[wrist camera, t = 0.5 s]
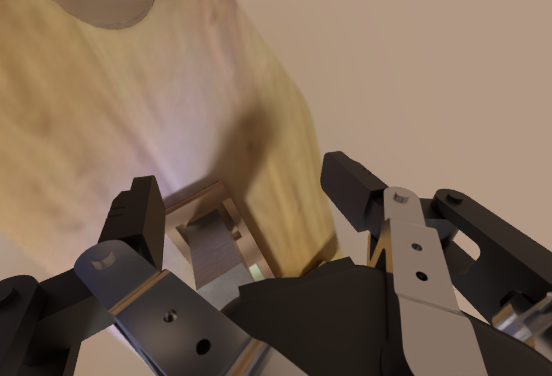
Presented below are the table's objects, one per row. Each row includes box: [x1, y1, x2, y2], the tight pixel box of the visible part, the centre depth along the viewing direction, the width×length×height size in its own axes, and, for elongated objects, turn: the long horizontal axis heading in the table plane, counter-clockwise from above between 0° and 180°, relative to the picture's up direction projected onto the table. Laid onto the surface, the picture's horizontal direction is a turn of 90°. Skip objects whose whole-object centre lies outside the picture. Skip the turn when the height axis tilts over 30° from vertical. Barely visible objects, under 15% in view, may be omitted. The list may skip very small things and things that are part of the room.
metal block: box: [186, 209, 255, 311], centre depth 28 cm, size 4×4×12 cm
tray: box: [165, 180, 275, 282], centre depth 36 cm, size 22×9×2 cm, turn 21°
